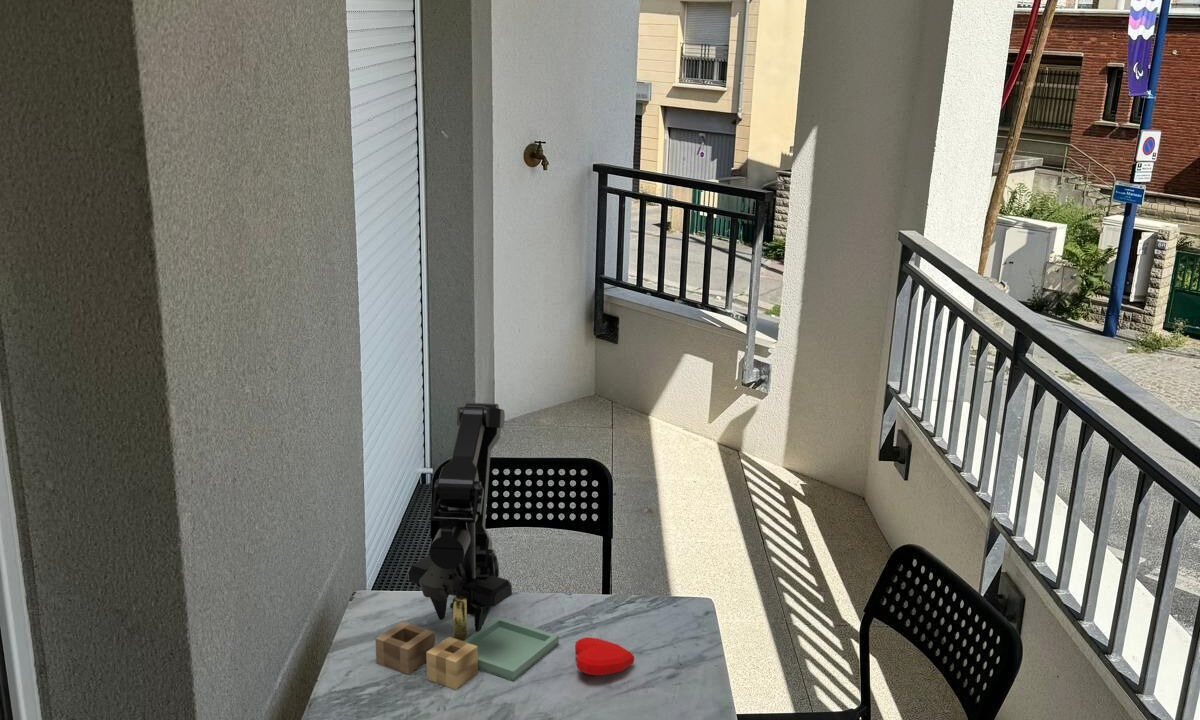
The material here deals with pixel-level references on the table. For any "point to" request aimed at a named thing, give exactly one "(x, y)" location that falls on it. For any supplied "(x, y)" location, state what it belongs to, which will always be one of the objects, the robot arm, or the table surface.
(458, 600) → the brass pin
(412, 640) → the walnut block
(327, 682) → the table surface
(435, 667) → the oak block
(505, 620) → the green tray
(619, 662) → the heart
